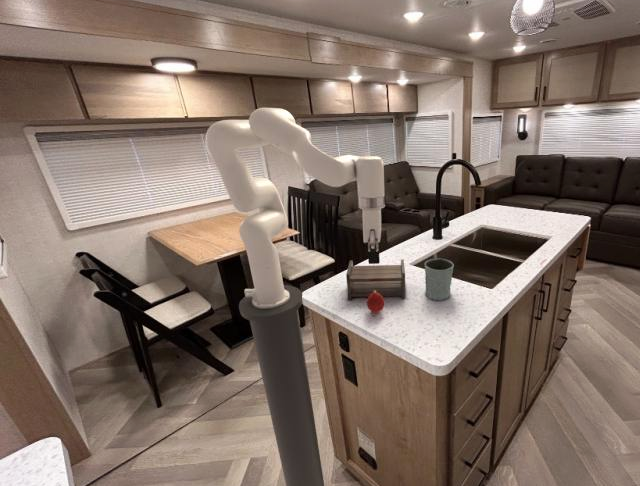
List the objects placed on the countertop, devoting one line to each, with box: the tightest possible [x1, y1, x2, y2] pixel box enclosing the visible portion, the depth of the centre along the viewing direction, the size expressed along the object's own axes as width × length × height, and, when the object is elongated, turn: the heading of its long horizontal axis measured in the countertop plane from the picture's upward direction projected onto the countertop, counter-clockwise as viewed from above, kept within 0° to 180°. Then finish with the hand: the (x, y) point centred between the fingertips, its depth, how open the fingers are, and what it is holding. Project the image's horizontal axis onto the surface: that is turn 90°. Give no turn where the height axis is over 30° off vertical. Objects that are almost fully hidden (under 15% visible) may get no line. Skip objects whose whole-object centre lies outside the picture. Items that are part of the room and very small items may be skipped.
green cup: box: [424, 258, 455, 301], centre depth 113 cm, size 10×10×12 cm
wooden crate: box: [345, 259, 406, 301], centre depth 116 cm, size 20×12×10 cm, turn 92°
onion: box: [366, 290, 386, 314], centre depth 103 cm, size 6×6×8 cm
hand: (374, 256), depth 98 cm, fingers open, 9 cm apart
